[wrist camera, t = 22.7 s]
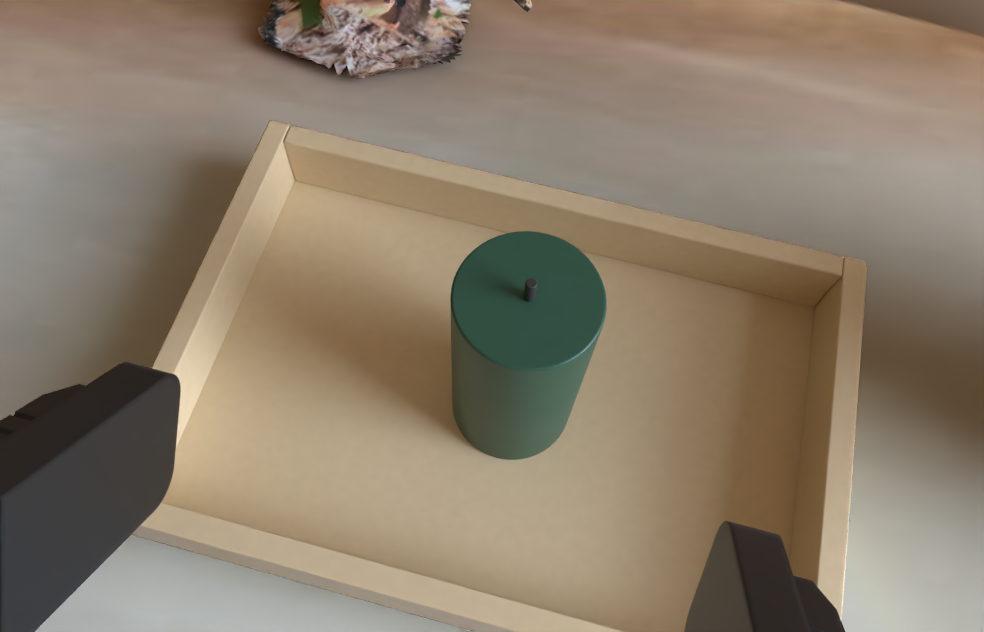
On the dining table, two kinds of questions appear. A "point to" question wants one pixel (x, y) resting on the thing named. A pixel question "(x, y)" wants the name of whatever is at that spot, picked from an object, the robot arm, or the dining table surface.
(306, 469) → the wooden tray
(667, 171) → the dining table surface
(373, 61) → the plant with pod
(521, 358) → the green candle
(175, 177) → the dining table surface
